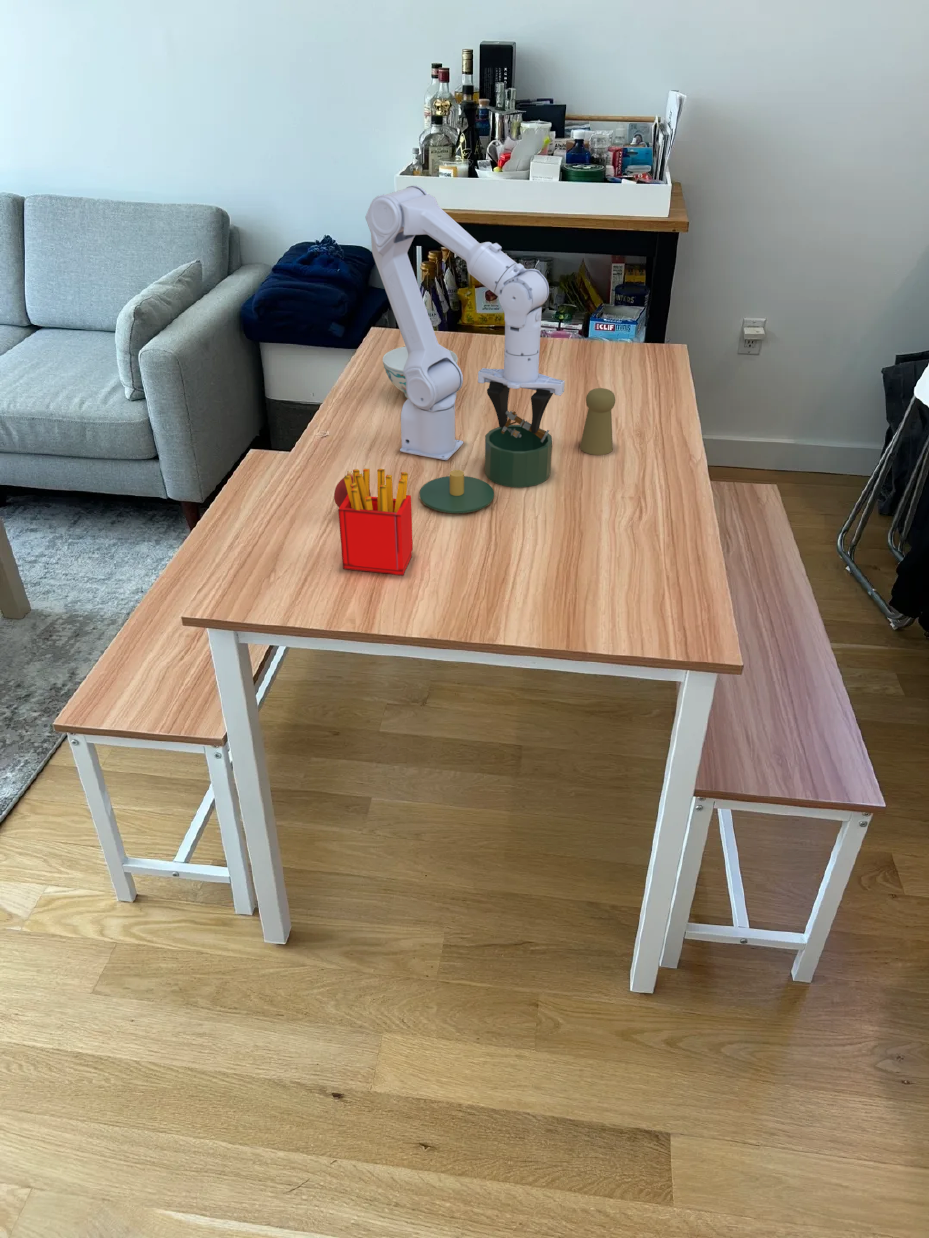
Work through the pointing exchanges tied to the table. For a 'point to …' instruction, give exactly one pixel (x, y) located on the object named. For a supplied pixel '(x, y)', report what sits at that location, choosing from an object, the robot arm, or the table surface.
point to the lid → (456, 493)
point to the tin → (517, 457)
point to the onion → (342, 490)
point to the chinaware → (400, 366)
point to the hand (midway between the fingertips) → (518, 428)
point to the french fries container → (376, 524)
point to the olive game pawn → (598, 422)
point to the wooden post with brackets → (522, 422)
